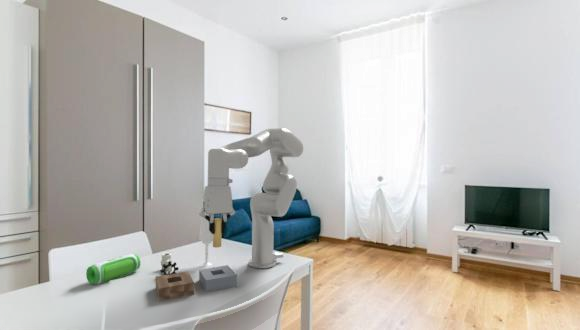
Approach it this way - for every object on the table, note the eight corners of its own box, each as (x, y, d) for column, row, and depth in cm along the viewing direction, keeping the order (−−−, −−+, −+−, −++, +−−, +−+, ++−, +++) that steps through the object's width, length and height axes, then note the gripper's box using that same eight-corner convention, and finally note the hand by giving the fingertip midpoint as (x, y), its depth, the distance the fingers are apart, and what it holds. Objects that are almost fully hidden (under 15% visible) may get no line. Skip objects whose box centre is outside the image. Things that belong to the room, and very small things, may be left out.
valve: (157, 269, 128) (160, 280, 118) (157, 254, 128) (160, 263, 118) (173, 267, 132) (178, 277, 121) (173, 252, 131) (178, 260, 121)
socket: (227, 277, 121) (227, 265, 121) (236, 288, 111) (236, 274, 111) (199, 282, 116) (199, 269, 115) (206, 294, 106) (206, 280, 106)
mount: (188, 284, 114) (188, 271, 114) (194, 297, 104) (194, 282, 104) (155, 290, 108) (155, 276, 108) (158, 304, 99) (158, 288, 99)
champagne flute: (216, 264, 136) (216, 210, 135) (212, 269, 129) (213, 212, 128) (200, 264, 136) (201, 209, 135) (196, 269, 129) (197, 212, 128)
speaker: (130, 269, 129) (130, 251, 129) (141, 272, 125) (141, 254, 125) (85, 283, 114) (85, 263, 114) (96, 288, 110) (96, 267, 110)
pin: (220, 244, 115) (220, 218, 114) (222, 246, 112) (222, 219, 112) (212, 245, 113) (212, 218, 113) (214, 247, 111) (214, 220, 110)
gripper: (236, 181, 119) (235, 228, 120) (193, 182, 112) (192, 232, 112) (243, 183, 113) (242, 232, 113) (197, 183, 105) (196, 237, 105)
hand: (217, 232), depth 113 cm, fingers closed on pin, 3 cm apart
